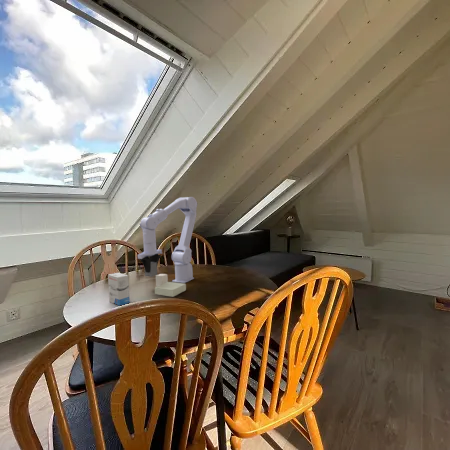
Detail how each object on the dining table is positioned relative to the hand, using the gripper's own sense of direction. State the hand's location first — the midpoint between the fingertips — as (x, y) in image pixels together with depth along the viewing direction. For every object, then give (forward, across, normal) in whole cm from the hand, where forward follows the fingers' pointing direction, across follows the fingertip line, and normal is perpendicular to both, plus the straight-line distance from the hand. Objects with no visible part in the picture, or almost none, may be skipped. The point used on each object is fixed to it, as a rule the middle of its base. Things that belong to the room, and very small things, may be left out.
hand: (151, 271), depth 134 cm
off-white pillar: (+9, -5, +2) cm, 10 cm away
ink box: (+9, +19, -1) cm, 21 cm away
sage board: (+9, 0, +11) cm, 14 cm away
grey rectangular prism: (+2, 0, 0) cm, 2 cm away
